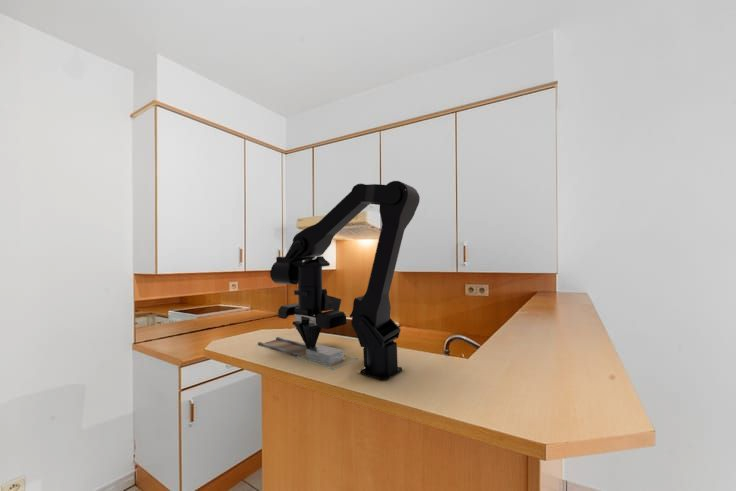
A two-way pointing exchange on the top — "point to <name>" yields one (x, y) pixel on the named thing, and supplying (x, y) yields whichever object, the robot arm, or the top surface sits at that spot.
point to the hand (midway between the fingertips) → (311, 351)
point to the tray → (329, 367)
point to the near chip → (330, 356)
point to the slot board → (285, 346)
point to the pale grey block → (315, 352)
